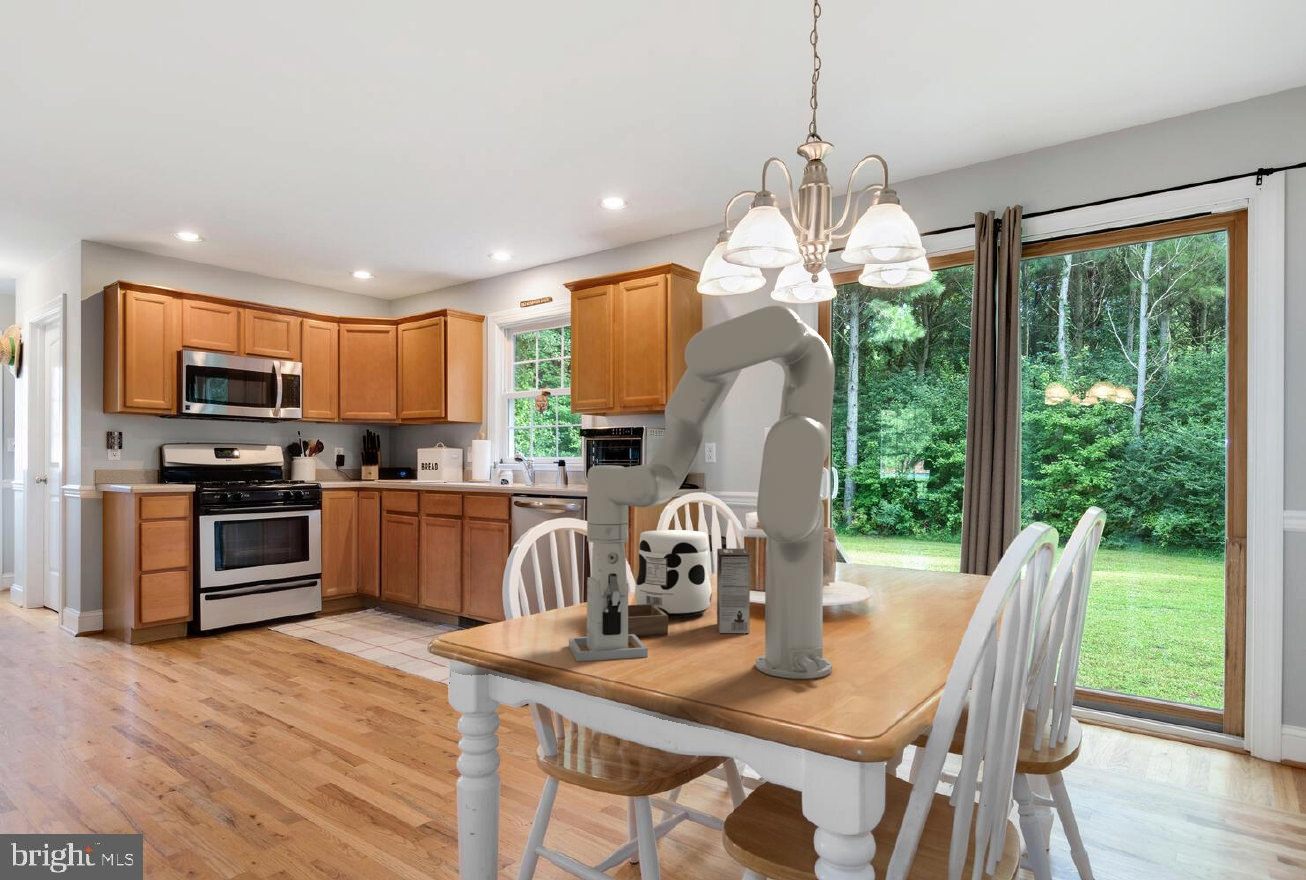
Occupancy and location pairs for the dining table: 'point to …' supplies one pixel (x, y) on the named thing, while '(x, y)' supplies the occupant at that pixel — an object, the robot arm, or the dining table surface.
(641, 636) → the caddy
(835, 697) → the dining table surface
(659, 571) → the milk container
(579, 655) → the tray
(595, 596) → the small box
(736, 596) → the coffee box
